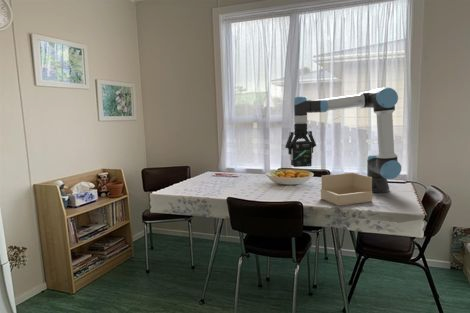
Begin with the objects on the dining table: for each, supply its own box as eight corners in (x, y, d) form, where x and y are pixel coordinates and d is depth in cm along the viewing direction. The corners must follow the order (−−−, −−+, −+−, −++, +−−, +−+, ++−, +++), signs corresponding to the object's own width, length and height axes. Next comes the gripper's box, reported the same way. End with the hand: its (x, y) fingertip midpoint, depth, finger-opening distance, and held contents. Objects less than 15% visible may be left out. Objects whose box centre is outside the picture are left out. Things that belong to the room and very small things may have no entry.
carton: (352, 195, 206) (352, 172, 205) (372, 201, 190) (372, 177, 188) (320, 198, 200) (320, 175, 198) (338, 206, 183) (338, 181, 181)
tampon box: (308, 164, 205) (307, 140, 203) (312, 166, 196) (312, 141, 194) (290, 164, 205) (290, 141, 203) (293, 167, 196) (293, 142, 194)
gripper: (315, 122, 204) (315, 157, 207) (279, 123, 197) (279, 159, 200) (322, 122, 197) (322, 158, 200) (284, 124, 190) (285, 161, 193)
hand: (300, 159), depth 200 cm, fingers closed on tampon box, 12 cm apart
